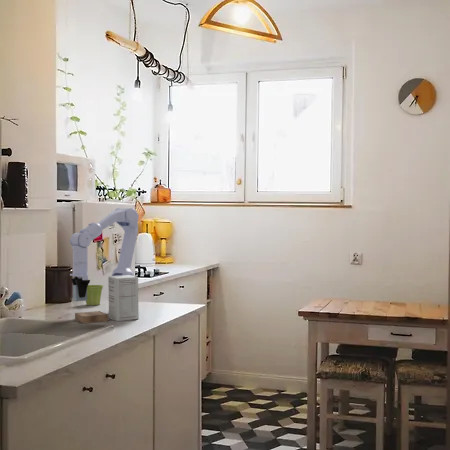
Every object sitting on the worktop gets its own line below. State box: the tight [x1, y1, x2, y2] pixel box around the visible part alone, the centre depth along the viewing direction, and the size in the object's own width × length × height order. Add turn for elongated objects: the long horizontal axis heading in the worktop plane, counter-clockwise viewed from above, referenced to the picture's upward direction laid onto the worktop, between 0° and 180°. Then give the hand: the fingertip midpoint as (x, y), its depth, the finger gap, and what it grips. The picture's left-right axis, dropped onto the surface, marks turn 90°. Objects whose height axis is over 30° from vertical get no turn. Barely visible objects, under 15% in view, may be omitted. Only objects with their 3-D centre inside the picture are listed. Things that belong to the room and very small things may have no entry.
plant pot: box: [85, 284, 104, 306], centre depth 287 cm, size 9×9×9 cm
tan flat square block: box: [74, 310, 109, 324], centre depth 244 cm, size 10×10×3 cm
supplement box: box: [107, 275, 140, 322], centre depth 248 cm, size 10×9×17 cm
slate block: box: [72, 284, 87, 302], centre depth 250 cm, size 4×4×6 cm
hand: (80, 296), depth 250 cm, fingers closed on slate block, 4 cm apart
